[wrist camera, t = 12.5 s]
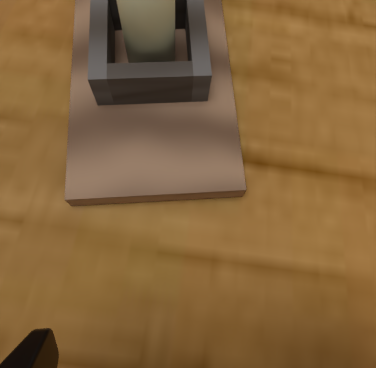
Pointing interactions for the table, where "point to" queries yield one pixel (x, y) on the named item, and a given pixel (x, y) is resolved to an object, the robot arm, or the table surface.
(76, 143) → the keeper
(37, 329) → the robot arm
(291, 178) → the table surface
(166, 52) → the pale green peg
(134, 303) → the table surface
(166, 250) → the table surface
